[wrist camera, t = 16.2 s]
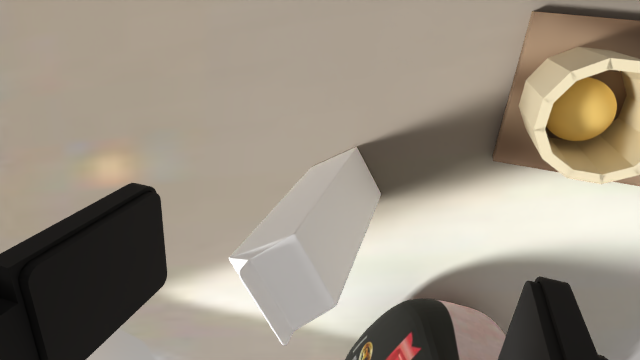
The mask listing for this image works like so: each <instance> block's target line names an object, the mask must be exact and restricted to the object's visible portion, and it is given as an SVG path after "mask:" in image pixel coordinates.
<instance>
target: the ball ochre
mask: <svg viewBox="0 0 640 360" xmlns="http://www.w3.org/2000/svg"><path fill="white" fill-rule="evenodd" d="M616 110H617V102H616V98H615V95H614V93H613V92H612V90H611V89H610V88H609V87H608V86H607V85H606V84H604V83H603V82H601V81H599V80H597V79H594V78H589V77H586V78H584V79H581V80H578V81H576V82H575V83H574V84H573V85H572V86H571V87H570V88H569V89H568V90H567V91H566V92H564V93H563V94H562V95H561V96H560V97H559V98H558V99H557V100H556V101H555V102H554V103H553V106H552V109H551V112H550V115H549V119H548V122H547V125H546V126H547V128H548V129H549V130H550V131H551V132H552V133H553V134H554V135H556V136H557V137H559V138H562V139H565V140H569V141H583V140H588V139H591V138H594V137H596V136H598V135H600V134H601V133H602V132H604V131H605V130H606V129H607V128H608V127H609V126H610V124H611V123H612V122H613V120H614V118H615V115H616Z"/></svg>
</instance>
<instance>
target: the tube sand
mask: <svg viewBox="0 0 640 360" xmlns="http://www.w3.org/2000/svg"><path fill="white" fill-rule="evenodd" d="M607 70H618V71H619V72H620V73H622V78H623V82H624V86H625V90H626V94H627V96H626V98H625V101H624V104H623V106H622V109H621V111H620V114H619V116H618V118H617V119H616V120H615V121H613V122H612V123H611V124H610V126H609V127H608V128H607V129H606V130H605V131H604V132H602V133H601V134H600V135H598V136H596V137H594V138H591V139H588V140H583V141H568V140H561V139H555V138H550V137H549V136H548V135H547V134H546V131H545V128H546V125H547V122H548V119H549V115H550V112H551V109H552V106H553V103H554V102H555V101H556V100H557V99H558V98H559V97H560V96H561V95H562V94H563V93H564V92H566V91H567V90H568V89H569V88H570V87H571V86H572V85H573V84H574V83H575V82H576V81H578V80H581V79H584V78H586V77H589V76H592V75H595V74H598V73H601V72H604V71H607ZM519 109H520V112H521V115H522V118H523V121H524V125H525V128H526V130H527V132H528V134H529V136H530V138H531V139H532V141H533V143H534V145H535V147H536V148H537V150H538V152H539V154H540V156H541V157H542V159H543V160H545V161H546V162H547V163H548V164H550V165H551V166H552V167H553V168H555V169H556V170H557V171H558V172H560V173H561V174H562V175H563V176H565V177H566V178H569V179H575V180H580V181H586V182H592V183H598V184H604V183H609V182H613V181H617V180H621V179H625V178H629V177H633V176H637V175H640V59H638V58H634V57H631V56H628V55H624V54H621V53H617V52H614V51H611V50H603V49H594V48H584V47H576V48H573V49H571V50H568V51H565V52H563V53H560V54H557V55H555V56H552V57H549V58H547V59H546V60H545V61H544V62H543V63H542V64H541V65H540V66H539V67H538V68H537V69H536V70H535V71H534V72H533V73H532V74H531V75H530V76H529V77H528V79H527V80H526V82H525V85H524V89H523V92H522V96H521V99H520V103H519Z"/></svg>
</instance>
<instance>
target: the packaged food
mask: <svg viewBox="0 0 640 360" xmlns="http://www.w3.org/2000/svg"><path fill="white" fill-rule="evenodd" d="M505 338H506V335H505V334H504V332H503V331H502V330H501V328H500V327H499V326H498V325H497V324H496V323H495V322H494V321H493V320H492V319H491V318H490V317H488V316H487V315H485V314H483V313H482V312H480V311H478V310H475V309H472V308H469V307H466V306H462V305H458V304H454V303H451V302H446V301H441V300H435V299H414V300H408V301H405V302H402V303H400V304H398V305H396V306H394V307H393V308H391V309H390V310H388V311H387V312H386V313H384V314H383V315H382V316H381V317H379V318H378V319H377V320H376V321H375V322H374V323H373V324H372V325H371V326H370V327H369V328H368V329H367V330H366V331H365V332H364V333H363V335H362V336H361V337H360V338H359V339H358V341H357V342H356V343H355V345H354V346H353V347H352V349H351V350H350V352H349V354H348V355H347V357H346V359H345V360H498V357H499V354H500V352H501V349H502V346H503V343H504V340H505Z"/></svg>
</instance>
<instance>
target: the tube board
mask: <svg viewBox="0 0 640 360" xmlns="http://www.w3.org/2000/svg"><path fill="white" fill-rule="evenodd" d="M576 47H584V48H594V49H603V50H611V51H614V52H617V53H621V54H624V55H628V56H631V57H634V58H638V59H640V21H636V20H624V19H613V18H602V17H591V16H580V15H568V14H557V13H546V12H535V11H532V14H531V18H530V21H529V25H528V29H527V32H526V36H525V40H524V43H523V47H522V51H521V54H520V58H519V62H518V65H517V69H516V72H515V76H514V80H513V83H512V87H511V91H510V94H509V98H508V102H507V105H506V109H505V113H504V116H503V120H502V123H501V127H500V131H499V134H498V138H497V142H496V145H495V149H494V153H493V156H492V157H493V161H497V162H503V163H509V164H514V165H520V166H526V167H532V168H538V169H543V170H549V171H555V172H558V171H557V170H556V169H555V168H553V167H552V166H551V165H550V164H548V163H547V162H546V161H545V160H543V159H542V157H541V156H540V154H539V152H538V150H537V148H536V147H535V145H534V143H533V141H532V139H531V138H530V136H529V134H528V132H527V130H526V128H525V125H524V121H523V118H522V115H521V112H520V109H519V103H520V99H521V96H522V92H523V89H524V85H525V82H526V80H527V79H528V77H529V76H530V75H531V74H532V73H533V72H534V71H535V70H536V69H537V68H538V67H539V66H540V65H541V64H542V63H543V62H544V61H545V60H546V59H547V58H549V57H552V56H555V55H557V54H560V53H563V52H565V51H568V50H571V49H573V48H576ZM589 78H594V79H597V80H599V81H601V82H603V83H604V84H606V85H607V86H608V87H609V88H610V89H611V90H612V92H613V93H614V95H615V98H616V102H617V110H616V115H615V118H614V120H613V121H615V120H616V119H617V118H618V116H619V114H620V111H621V109H622V106H623V104H624V101H625V98H626V96H627V94H626V90H625V86H624V82H623V78H622V73H620V72H619V71H618V70H607V71H604V72H601V73H598V74H595V75H592V76H589ZM545 131H546V134H547V135H548V136H549V137H550V138H555V139H561V140H565V139H562V138H559V137H557V136H556V135H554V134H553V133H552V132H551V131H550V130H549V129H548V128H547V126H546V128H545ZM568 141H569V140H568ZM613 182H618V183H624V184H630V185H636V186H640V175H637V176H633V177H629V178H625V179H621V180H617V181H613Z"/></svg>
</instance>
